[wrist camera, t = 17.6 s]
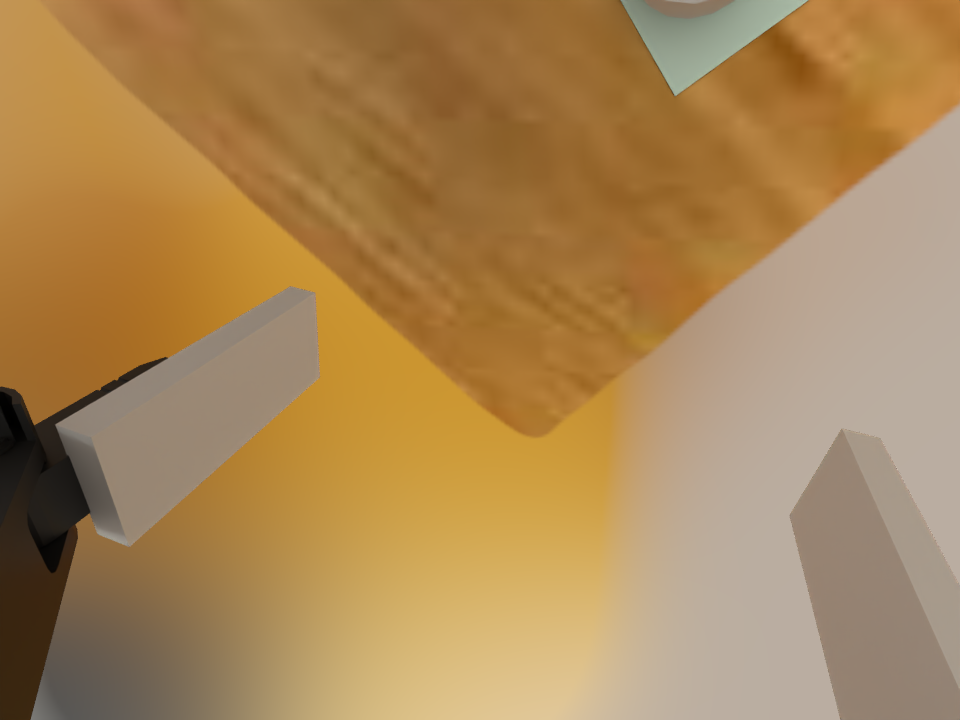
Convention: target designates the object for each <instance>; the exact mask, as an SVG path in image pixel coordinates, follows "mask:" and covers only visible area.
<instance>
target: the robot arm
mask: <svg viewBox="0 0 960 720" xmlns="http://www.w3.org/2000/svg"><path fill="white" fill-rule="evenodd" d="M318 355H319V354H318V336H317V317H316V298H315V293H314V292H310V291H306V290H303V289H299V288H295V287H289V288H287V289H285V290H284V291H282V292H280V293H278V294H277V295H275V296H273V297H272V298H270V299H268V300H267V301H265V302H263V303H261V304H260V305H258V306H256V307H255V308H253V309H251V310H250V311H248V312H246V313H244V314H243V315H241V316H239V317H238V318H236V319H234V320H232V321H231V322H229V323H227V324H226V325H224V326H222V327H221V328H219V329H217V330H215V331H214V332H212V333H210V334H209V335H207V336H205V337H204V338H202V339H200V340H198V341H197V342H195V343H193V344H192V345H190V346H188V347H187V348H185V349H183V350H181V351H180V352H178V353H176V354H175V355H173V356H171V357H170V358H166V357H164V358H161V359H158V360H155V361H152V362H149V363H146V364H143V365H140V366H138V367H136V368H134V369H133V370H131V371H129V372H127V373H126V374H124V375H122V376H121V377H119V379H118V380H117V381H116V380H113V381H112V382H110V383H108V384H107V385H105V386H103V387H101V390H100V391H99V390H96V391H94V392H92V393H91V394H89V395H87V396H85V397H84V398H82V399H80V400H78V401H77V402H75V403H73V404H71V405H70V406H68V407H66V408H64V409H62V410H61V411H59V412H57V413H55V414H54V415H52V416H50V417H48V418H47V419H45V420H43V421H41V422H40V423H38V424H36V425H34V424H33V422H32V420H31V417H30V415H29V412H28V410H27V408H26V405H25V403H24V400H23V398H22V396H21V395H20V394H19V393H18V392H17V391H16V390H14V389H9V388H5V387H0V720H30V719H31V716H32V712H33V708H34V704H35V700H36V697H37V693H38V689H39V685H40V681H41V677H42V674H43V670H44V666H45V662H46V658H47V654H48V650H49V647H50V643H51V639H52V635H53V632H54V627H55V624H56V620H57V616H58V612H59V609H60V605H61V601H62V597H63V593H64V589H65V586H66V582H67V578H68V574H69V570H70V566H71V563H72V559H73V555H74V551H75V547H76V543H77V539H78V534H77V528H76V525H75V524H76V523H77V522H79V521H80V520H81V519H82V518H84V517H85V516H86V515H88V514H89V513H90V515H91V518H92V520H93V523H94V526H95V528H96V531H97V533H98V534H99V535H101V536H104V537H106V538H109V539H111V540H114V541H116V542H119V543H121V544H124V545H126V546H129V547H130V546H131V545H132V544H133V543H134V542H135V541H136V540H137V539H139V538H140V537H141V536H142V535H143V534H144V533H145V532H146V531H148V530H149V529H150V528H151V527H152V526H153V525H154V524H156V523H157V522H158V521H159V520H160V519H161V518H162V517H163V516H164V515H166V514H167V513H168V512H169V511H170V510H171V509H172V508H173V507H174V506H176V505H177V504H178V503H179V502H180V501H181V500H182V499H183V498H185V497H186V496H187V495H188V494H189V493H190V492H191V491H193V489H195V488H196V487H197V486H198V485H199V484H200V483H202V482H203V481H204V480H205V479H206V478H207V477H208V476H209V475H211V474H212V473H213V472H214V471H215V470H216V469H217V468H218V467H219V466H221V465H222V464H223V463H224V462H225V461H226V460H227V459H228V458H229V457H231V456H232V455H233V454H234V453H235V452H236V451H237V450H238V449H240V448H241V447H242V446H243V445H244V444H245V443H246V442H248V441H249V440H250V439H251V438H252V437H253V436H254V435H255V434H256V433H258V431H260V430H261V429H262V428H263V427H264V426H266V425H267V424H268V423H269V422H270V421H271V420H272V419H273V418H274V417H276V416H277V415H278V414H279V413H280V412H281V411H282V410H284V409H285V408H286V407H287V406H288V405H289V404H290V403H291V402H292V401H294V400H295V399H296V398H297V397H298V396H299V395H300V394H301V393H303V392H304V391H305V390H306V389H307V388H308V387H309V386H310V385H311V384H313V383H314V382H315V381H316V380H317V379H318V378H319V377H320V372H319V356H318ZM790 519H791V523H792V527H793V531H794V535H795V539H796V543H797V547H798V551H799V555H800V559H801V563H802V567H803V571H804V575H805V579H806V583H807V587H808V592H809V595H810V599H811V603H812V607H813V612H814V616H815V620H816V624H817V628H818V632H819V635H820V640H821V643H822V647H823V652H824V656H825V660H826V663H827V667H828V672H829V676H830V679H831V684H832V688H833V692H834V696H835V699H836V703H837V708H838V711H839V716H840V720H960V585H959V583H958V581H957V579H956V577H955V576H954V574H953V572H952V570H951V568H950V566H949V565H948V563H947V561H946V559H945V557H944V555H943V553H942V552H941V550H940V548H939V546H938V544H937V543H936V540H935V539H934V537H933V535H932V533H931V531H930V529H929V527H928V526H927V524H926V522H925V520H924V518H923V517H922V515H921V513H920V511H919V509H918V507H917V505H916V503H915V502H914V500H913V498H912V496H911V494H910V492H909V490H908V489H907V487H906V485H905V483H904V481H903V480H902V477H901V476H900V474H899V472H898V470H897V468H896V466H895V465H894V463H893V461H892V459H891V457H890V455H889V454H888V452H887V450H886V448H885V446H884V444H883V443H882V440H881V439H880V438H877V437H874V436H869V435H866V434H862V433H858V432H854V431H850V430H846V429H841V431H840V432H839V434H838V436H837V437H836V439H835V441H834V442H833V444H832V446H831V447H830V449H829V451H828V452H827V454H826V456H825V457H824V459H823V461H822V462H821V464H820V466H819V467H818V469H817V471H816V473H815V474H814V476H813V477H812V479H811V481H810V482H809V484H808V486H807V487H806V489H805V491H804V492H803V494H802V496H801V497H800V499H799V501H798V502H797V504H796V505H795V507H794V509H793V511H792V512H791V514H790Z"/></svg>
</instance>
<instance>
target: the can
mask: <svg viewBox="0 0 960 720" xmlns="http://www.w3.org/2000/svg"><path fill="white" fill-rule="evenodd" d="M644 1H645V2H646V3H647V4H648V5H649V7H651V8H653V9H655V10H657V11H659V12H660V13H662V14H664V15H666V16H668V17H676V18H685V19H692V18H696V17H700V16H704V15H709V14H713V13H715V12H716V11H718V10H720V9H721V8H723V7H725V6H727V5H728V4H730V3H732V2H733V1H735V0H644Z"/></svg>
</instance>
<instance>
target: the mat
mask: <svg viewBox="0 0 960 720" xmlns="http://www.w3.org/2000/svg"><path fill="white" fill-rule="evenodd" d="M807 1H808V0H735V1H733V2H732V3H730V4H728V5H727V6H725V7H723V8H721V9H720V10H718V11H716V12H715V13H713V14H709V15H704V16H700V17H696V18H692V19H685V18H676V17H668V16H666V15H664V14H662V13H660V12H659V11H657V10H655V9H653V8H651V7H649V5H648V4H647V3H646V2H645V1H644V0H621V2H622V4H623V6H624V7H625V9H626V11H627V13H628V14H629V16H630V18H631V20H632V21H633V23H634V25H635V27H636V28H637V30H638V32H639V34H640V35H641V37H642V39H643V41H644V42H645V44H646V46H647V48H648V49H649V51H650V53H651V55H652V56H653V58H654V60H655V62H656V63H657V65H658V67H659V69H660V70H661V72H662V74H663V76H664V77H665V79H666V81H667V83H668V85H669V86H670V88H671V90H672V92H673V93H674V95H675V96H676V95H678V94H679V93H680V92H682V91H683V90H684V89H686V88H687V87H689V86H690V85H691V84H693V83H694V82H696V81H697V80H698V79H700V78H701V77H703V76H704V75H705V74H707V73H708V72H709V71H711V70H712V69H714V68H715V67H716V66H718V65H719V64H721V63H722V62H723V61H725V60H726V59H728V58H729V57H730V56H732V55H733V54H734V53H736V52H737V51H739V50H740V49H741V48H743V47H744V46H746V45H747V44H748V43H750V42H751V41H753V40H754V39H755V38H757V37H758V36H759V35H761V34H762V33H764V32H765V31H766V30H768V29H769V28H771V27H772V26H773V25H775V24H776V23H778V22H779V21H780V20H782V19H783V18H784V17H786V16H787V15H789V14H790V13H791V12H793V11H794V10H796V9H797V8H798V7H800V6H801V5H802V4H804V3H805V2H807Z"/></svg>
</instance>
